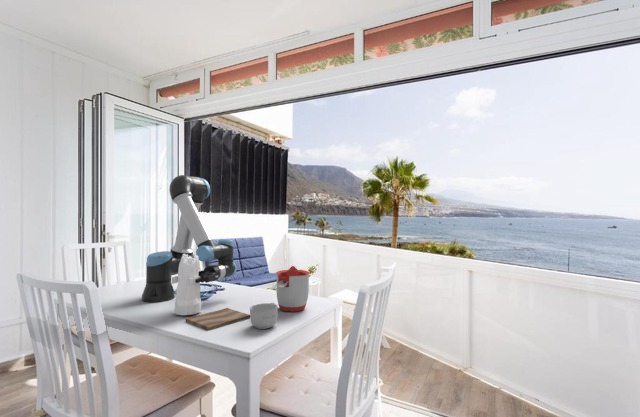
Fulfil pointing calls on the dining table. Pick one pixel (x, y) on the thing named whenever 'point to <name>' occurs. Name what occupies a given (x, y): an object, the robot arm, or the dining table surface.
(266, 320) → the teacup
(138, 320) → the dining table surface
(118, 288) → the dining table surface
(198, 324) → the board
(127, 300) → the dining table surface
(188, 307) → the decorative vase
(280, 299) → the citrus juicer
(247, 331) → the dining table surface
